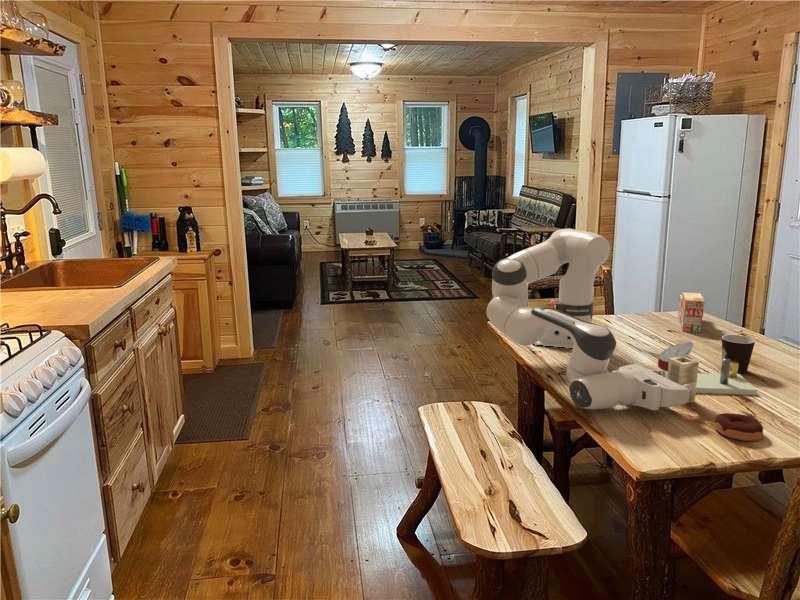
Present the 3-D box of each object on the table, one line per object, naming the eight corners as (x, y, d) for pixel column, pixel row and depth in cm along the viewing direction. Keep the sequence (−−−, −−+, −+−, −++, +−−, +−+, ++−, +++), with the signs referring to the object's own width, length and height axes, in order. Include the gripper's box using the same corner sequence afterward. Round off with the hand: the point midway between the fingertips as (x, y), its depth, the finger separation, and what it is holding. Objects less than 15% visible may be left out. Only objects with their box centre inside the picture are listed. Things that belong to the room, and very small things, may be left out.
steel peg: (721, 384, 162) (724, 360, 160) (718, 381, 164) (721, 358, 162) (729, 384, 161) (731, 360, 160) (726, 382, 163) (729, 358, 162)
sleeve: (678, 404, 153) (682, 364, 151) (665, 396, 158) (669, 358, 155) (694, 401, 155) (698, 362, 152) (680, 394, 159) (684, 356, 157)
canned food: (685, 388, 176) (687, 365, 170) (652, 376, 182) (652, 354, 176) (700, 363, 181) (701, 340, 175) (666, 353, 188) (667, 330, 182)
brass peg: (726, 377, 166) (728, 364, 165) (722, 373, 169) (724, 360, 169) (738, 378, 166) (740, 364, 165) (734, 374, 169) (736, 361, 168)
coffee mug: (750, 378, 170) (754, 345, 168) (716, 372, 174) (720, 340, 172) (752, 365, 179) (756, 334, 177) (720, 361, 184) (723, 330, 182)
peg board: (670, 391, 161) (670, 386, 161) (658, 376, 173) (658, 371, 172) (756, 395, 158) (757, 389, 158) (738, 378, 170) (739, 373, 169)
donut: (767, 432, 137) (769, 417, 136) (757, 448, 130) (759, 431, 129) (719, 420, 144) (721, 405, 143) (708, 435, 137) (709, 419, 136)
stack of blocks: (677, 317, 234) (680, 287, 231) (694, 318, 232) (698, 287, 229) (682, 332, 215) (685, 299, 212) (701, 333, 213) (704, 300, 210)
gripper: (606, 383, 161) (648, 377, 165) (658, 413, 142) (705, 405, 145) (607, 361, 159) (650, 356, 163) (660, 389, 140) (707, 381, 144)
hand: (676, 379), depth 154 cm, fingers open, 8 cm apart
